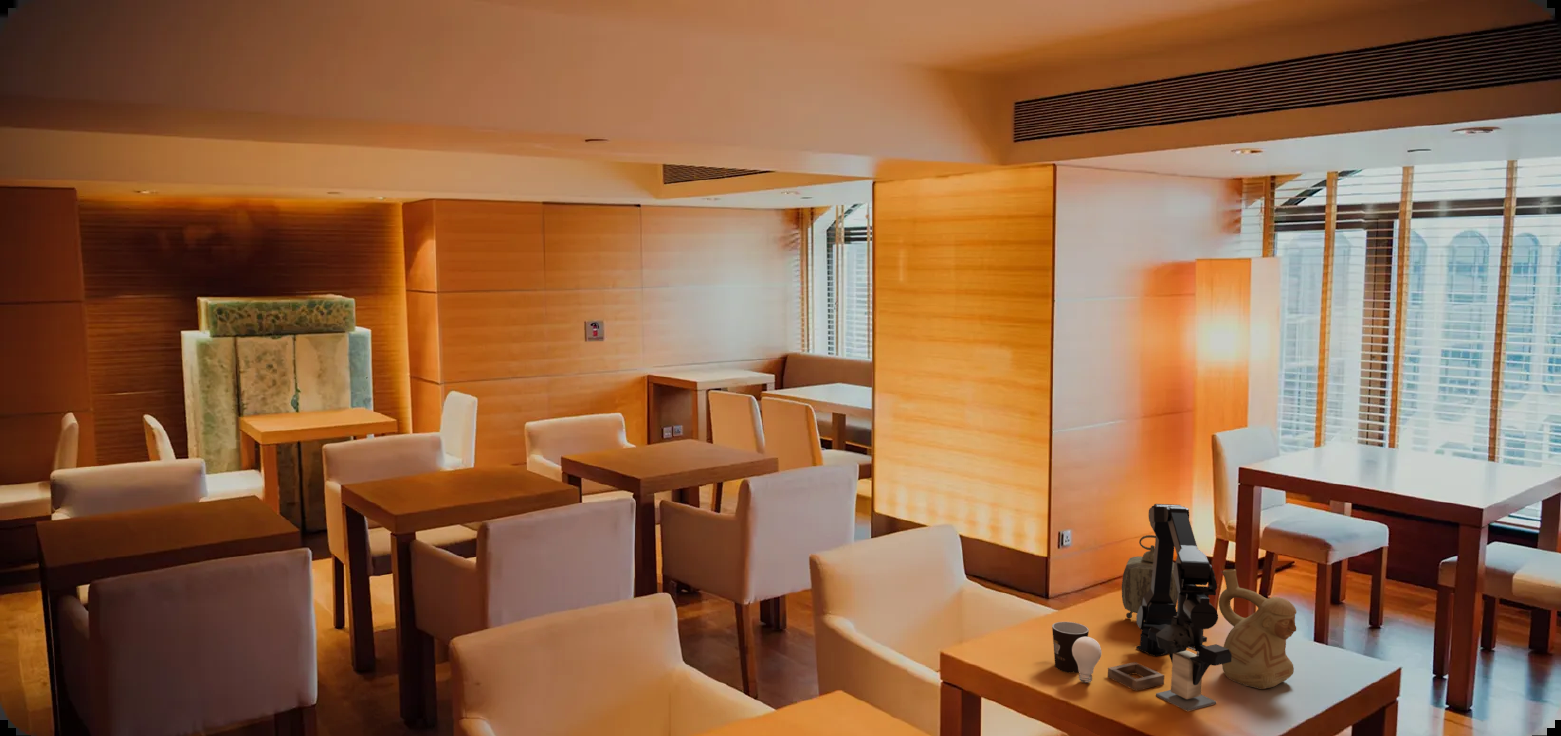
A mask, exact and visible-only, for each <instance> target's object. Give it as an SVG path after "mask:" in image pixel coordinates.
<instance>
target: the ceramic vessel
mask: <svg viewBox="0 0 1561 736" xmlns="http://www.w3.org/2000/svg"><path fill="white" fill-rule="evenodd" d="M1222 575H1223V577H1224V581H1225V586H1226V589H1224V590H1223V591H1222V592H1221V594H1220V596H1219V599H1218V607H1219V610H1220V611H1219V612H1220V613H1221V614H1222V617H1223V618H1224V619H1225V620H1226V621H1227V622H1228V623H1229V624H1230V625H1231V626H1233V627H1232V629H1231V630H1230V631H1229V632H1228V634H1227V636H1226V638H1225V640H1224V644H1223V647H1224V648H1227V649H1229V650H1230V651H1231V653H1232V659H1231V662H1229V663H1225V664H1221V665H1222V666H1221V667H1222V671H1223V674H1224V675H1225V677H1226V678H1228V679H1230V680H1231V681H1233V682H1235V683H1238V684H1240V685H1243V686H1246V687H1250V688H1256V689H1259V690H1266V689H1270V688H1274V687H1276V686H1278V685H1279V684H1281V683H1284V682H1286V681H1287V680H1288V679H1289V678H1291V676H1293V674H1294V672H1295V671H1294V670H1295V667H1294V664H1293V661H1291V660H1290V658H1289V657H1288V655H1287V654H1286V653H1287V652H1286V646H1287V640H1288V639H1289V638H1290V637H1292V635H1293V634H1294V633H1295V632H1297V626H1296V614H1297V609H1296V607H1295V606H1294V604H1293V603H1292V602H1291V601H1290V600H1288V599H1286V598H1283V597H1281V596H1279V597H1278V596H1273V597H1269V598H1266V597H1264V596H1263V595H1261V594H1259V593H1258V592H1256V591H1253V590H1250V589H1248V588H1244V587H1240V585H1239V583H1238V577H1237V569H1235V568H1230V569H1224V570H1222ZM1235 598H1236V599H1244V600H1246V601H1249V602H1250V603H1252V604H1253V605H1255V606H1256V607H1257V610H1256V611H1255V612H1253V613H1252V614H1250V615H1249V616H1247V617H1242V616H1240V615H1239V614H1237V613H1235V611H1234V610H1233V608H1232V606H1231V601H1232V600H1233V599H1235Z"/></svg>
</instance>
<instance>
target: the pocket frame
mask: <svg viewBox="0 0 1561 736" xmlns="http://www.w3.org/2000/svg"><path fill="white" fill-rule="evenodd" d="M1134 674H1136V675H1138V676H1139V677H1140V678H1139V677H1138V678H1136V677H1133V676H1132V675H1134ZM1107 678H1109V679H1111V680H1112V681H1115V682H1118V683H1120V684H1122V685H1123V686H1126V687H1128V688H1130V689H1132V690H1134V691H1141V690H1145V689H1150V688H1153V687H1158V686H1163V685H1164V684H1165V674H1164V673H1160V672H1158V671H1156V670H1154V669H1151V668H1150V667H1147V666H1146V665H1143V664H1140V663H1138V662H1137V661H1134V662H1129V663H1125V664H1120V665H1115V666H1110V667H1108V668H1107Z"/></svg>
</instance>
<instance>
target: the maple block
mask: <svg viewBox="0 0 1561 736" xmlns="http://www.w3.org/2000/svg"><path fill="white" fill-rule="evenodd" d="M1196 654H1197V653H1194V652H1192V651H1190V650H1187V649H1186V651H1182V652H1177V653H1173V661H1172V662H1171V683H1170V690H1171V692H1172V693H1175V694H1177V695H1179V696H1181V697H1183V698H1185V699H1190V698H1194V697H1198V696H1201V695H1202V684H1203V683H1202V682H1203V677H1202V678H1201V680H1200V682H1199V683H1198V685H1193V662H1192V661H1191V659H1190V658H1191V657H1195V656H1196Z"/></svg>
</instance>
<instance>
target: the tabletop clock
mask: <svg viewBox="0 0 1561 736" xmlns="http://www.w3.org/2000/svg"><path fill="white" fill-rule="evenodd" d="M1148 538H1150V539H1151V538H1152V539H1156V535H1153V534H1148V535H1147V534H1146V535H1143V536H1142V537H1141V538H1140V539H1139V542H1138V543H1139V545H1140V547H1141V548H1143V549H1145V550H1147V551H1146V552H1145V553H1143V555H1142V556H1132V557H1129V559H1128V560H1127V562H1126V565H1125V567H1124V570H1123V573H1122V581H1121V598H1122V605H1123V607H1124V610H1127V611H1129V612H1127V613H1126V615H1125V616H1126V618H1127V619H1131V618H1133V613H1134V614H1137V613H1138V610H1139V608H1140V606H1141V605H1142V603H1143V597H1144V596H1145V594H1146V593H1147V592H1148V591H1149V590H1150V589H1151V582H1152V571H1153V561H1154V550H1155V545H1150V547H1147V546H1145V545H1143V544H1142V541H1143V540H1144V539H1148ZM1174 564H1175V562H1174V561H1173V567H1172V577H1171V587H1170V597H1171V599H1172V601H1173V602H1174V604H1175V607H1176V608H1177V604H1178V591H1177V586H1176V582H1175V578H1174Z"/></svg>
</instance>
